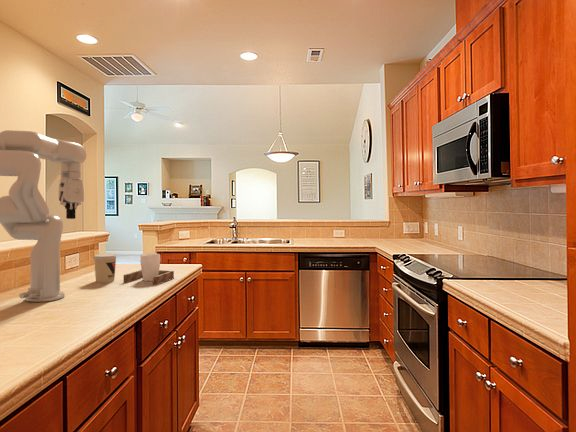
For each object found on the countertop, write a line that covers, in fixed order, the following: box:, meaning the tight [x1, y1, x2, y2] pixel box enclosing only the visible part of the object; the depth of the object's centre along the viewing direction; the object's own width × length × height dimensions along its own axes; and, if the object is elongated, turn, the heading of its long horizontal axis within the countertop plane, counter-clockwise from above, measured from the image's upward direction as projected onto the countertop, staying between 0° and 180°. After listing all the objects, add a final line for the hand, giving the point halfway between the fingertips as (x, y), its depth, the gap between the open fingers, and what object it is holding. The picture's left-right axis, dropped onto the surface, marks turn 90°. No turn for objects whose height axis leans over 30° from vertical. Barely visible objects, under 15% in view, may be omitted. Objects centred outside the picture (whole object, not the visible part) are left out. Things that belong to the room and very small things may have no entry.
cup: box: [139, 252, 162, 282], centre depth 188 cm, size 9×9×12 cm
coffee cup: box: [93, 253, 117, 284], centre depth 183 cm, size 9×9×12 cm
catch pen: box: [123, 269, 175, 286], centre depth 187 cm, size 16×16×4 cm
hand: (70, 218), depth 172 cm, fingers closed
